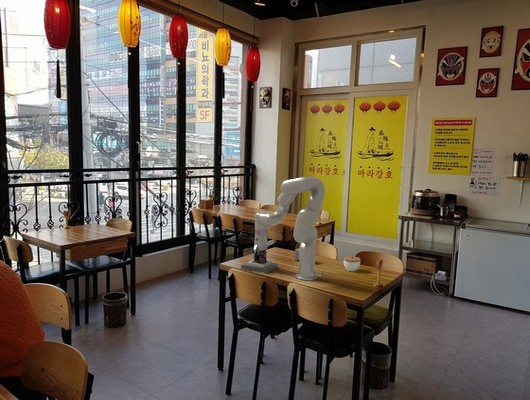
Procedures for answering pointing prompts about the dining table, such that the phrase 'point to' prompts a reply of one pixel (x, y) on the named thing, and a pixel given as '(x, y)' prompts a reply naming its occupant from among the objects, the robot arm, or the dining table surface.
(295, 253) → the food item
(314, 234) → the robot arm
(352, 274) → the dining table surface
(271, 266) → the grey flat block
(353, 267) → the lidded jar
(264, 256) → the box
